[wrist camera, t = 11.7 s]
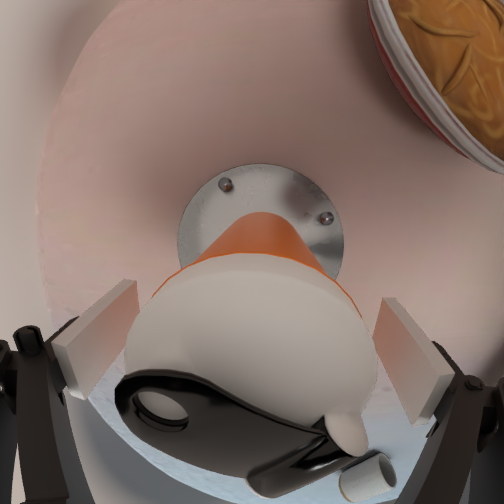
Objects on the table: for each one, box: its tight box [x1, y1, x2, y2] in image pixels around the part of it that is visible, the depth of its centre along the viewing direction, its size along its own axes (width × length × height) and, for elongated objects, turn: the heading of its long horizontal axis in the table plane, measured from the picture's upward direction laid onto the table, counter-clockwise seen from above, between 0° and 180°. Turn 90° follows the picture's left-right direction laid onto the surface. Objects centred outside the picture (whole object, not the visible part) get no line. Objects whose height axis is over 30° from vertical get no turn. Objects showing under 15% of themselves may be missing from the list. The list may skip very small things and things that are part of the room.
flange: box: [177, 164, 344, 280], centre depth 26 cm, size 15×15×1 cm
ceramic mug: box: [339, 453, 397, 502], centre depth 33 cm, size 11×8×8 cm
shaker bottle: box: [115, 212, 378, 499], centre depth 16 cm, size 9×9×20 cm
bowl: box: [367, 0, 504, 174], centre depth 15 cm, size 23×23×10 cm
